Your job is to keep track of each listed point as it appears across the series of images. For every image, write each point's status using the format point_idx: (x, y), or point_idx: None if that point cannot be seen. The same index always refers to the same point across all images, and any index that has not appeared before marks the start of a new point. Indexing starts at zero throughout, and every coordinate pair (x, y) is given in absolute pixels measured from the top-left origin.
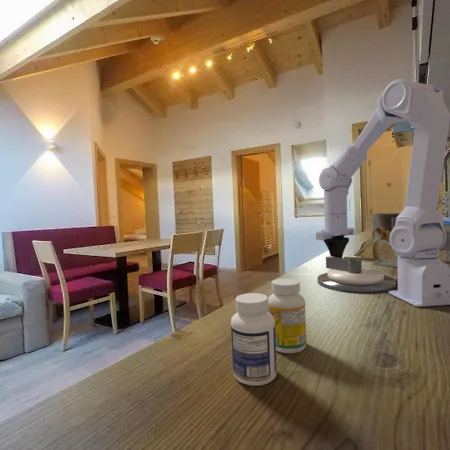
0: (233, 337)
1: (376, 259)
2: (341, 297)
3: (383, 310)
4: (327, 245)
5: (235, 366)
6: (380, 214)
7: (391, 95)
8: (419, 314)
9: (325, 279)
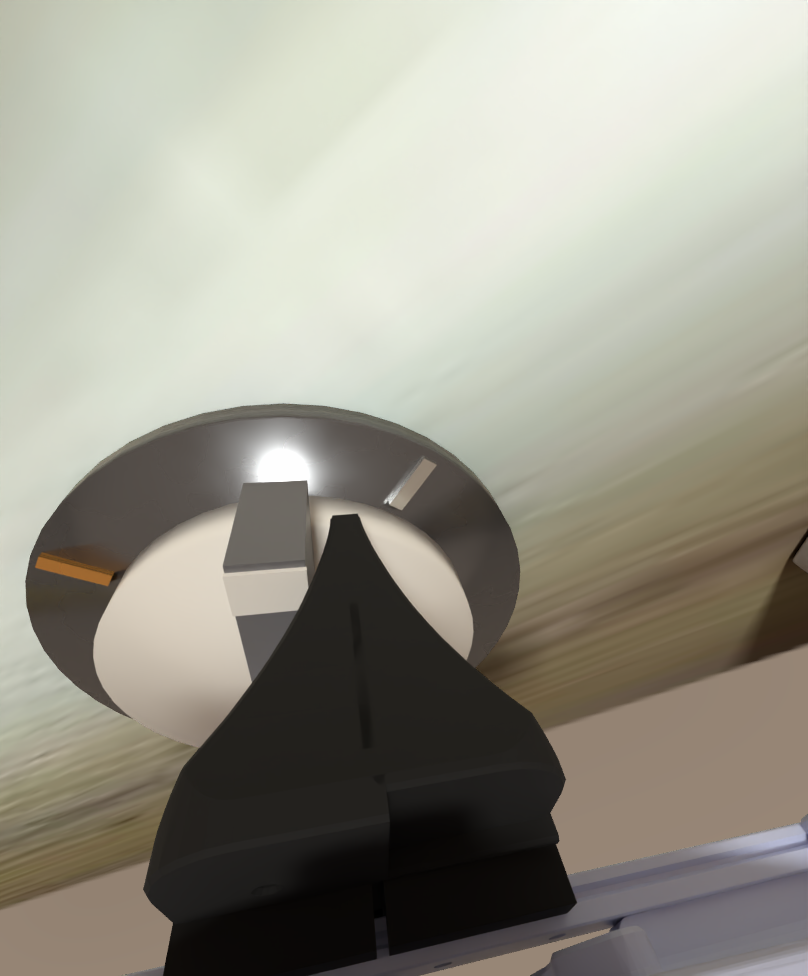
0: None
1: None
2: (14, 709)
3: (71, 807)
4: (251, 704)
5: None
6: None
7: None
8: (149, 833)
9: (108, 551)
